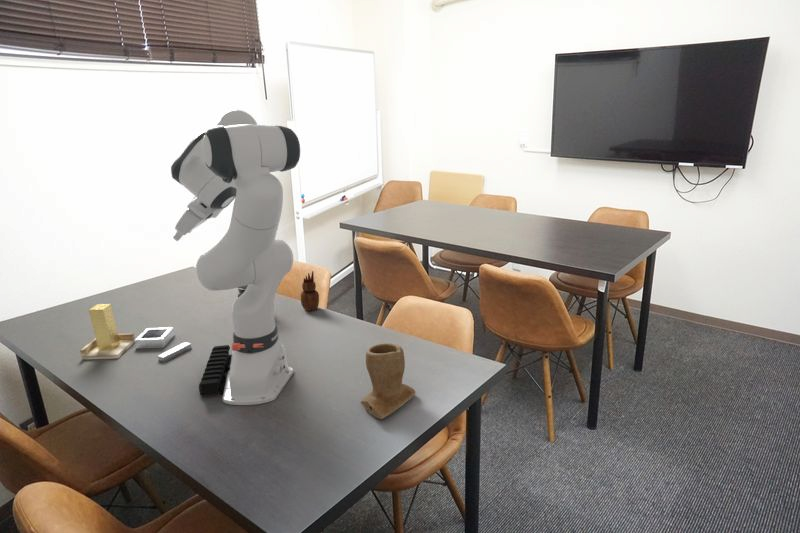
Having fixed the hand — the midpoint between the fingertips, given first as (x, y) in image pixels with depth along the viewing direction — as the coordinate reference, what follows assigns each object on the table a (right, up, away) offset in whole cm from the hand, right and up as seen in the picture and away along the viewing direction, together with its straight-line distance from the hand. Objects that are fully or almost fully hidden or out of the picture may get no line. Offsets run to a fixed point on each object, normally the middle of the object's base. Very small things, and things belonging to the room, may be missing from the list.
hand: (181, 235), depth 157 cm
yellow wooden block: (-23, -36, -1) cm, 43 cm away
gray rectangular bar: (0, -38, -4) cm, 38 cm away
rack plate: (-23, -37, -1) cm, 44 cm away
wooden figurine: (+37, -26, +27) cm, 53 cm away
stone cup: (+67, -46, -31) cm, 87 cm away
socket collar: (-10, -35, +4) cm, 37 cm away
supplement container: (+17, -28, +23) cm, 40 cm away
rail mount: (+18, -42, -18) cm, 49 cm away
